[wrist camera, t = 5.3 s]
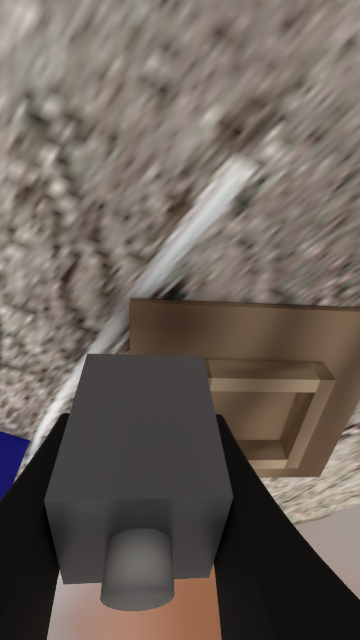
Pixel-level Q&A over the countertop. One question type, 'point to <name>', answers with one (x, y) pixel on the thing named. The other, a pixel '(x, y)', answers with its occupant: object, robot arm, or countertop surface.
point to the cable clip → (10, 459)
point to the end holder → (265, 372)
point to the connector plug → (139, 479)
